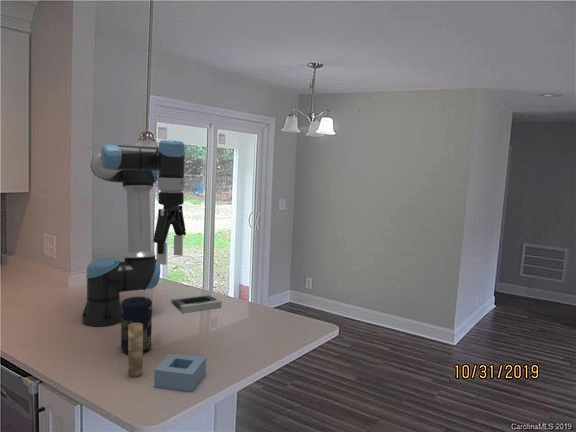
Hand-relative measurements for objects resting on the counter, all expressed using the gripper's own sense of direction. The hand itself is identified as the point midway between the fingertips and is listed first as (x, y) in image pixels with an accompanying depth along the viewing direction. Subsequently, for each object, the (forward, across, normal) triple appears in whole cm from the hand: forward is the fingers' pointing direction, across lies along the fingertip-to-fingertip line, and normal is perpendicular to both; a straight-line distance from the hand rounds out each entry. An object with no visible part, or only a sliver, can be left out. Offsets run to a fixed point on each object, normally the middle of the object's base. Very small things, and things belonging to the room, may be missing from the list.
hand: (170, 259), depth 142 cm
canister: (+32, +3, +12) cm, 35 cm away
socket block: (+32, -14, -9) cm, 36 cm away
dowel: (+32, -13, +5) cm, 35 cm away
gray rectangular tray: (+32, +52, +9) cm, 62 cm away
